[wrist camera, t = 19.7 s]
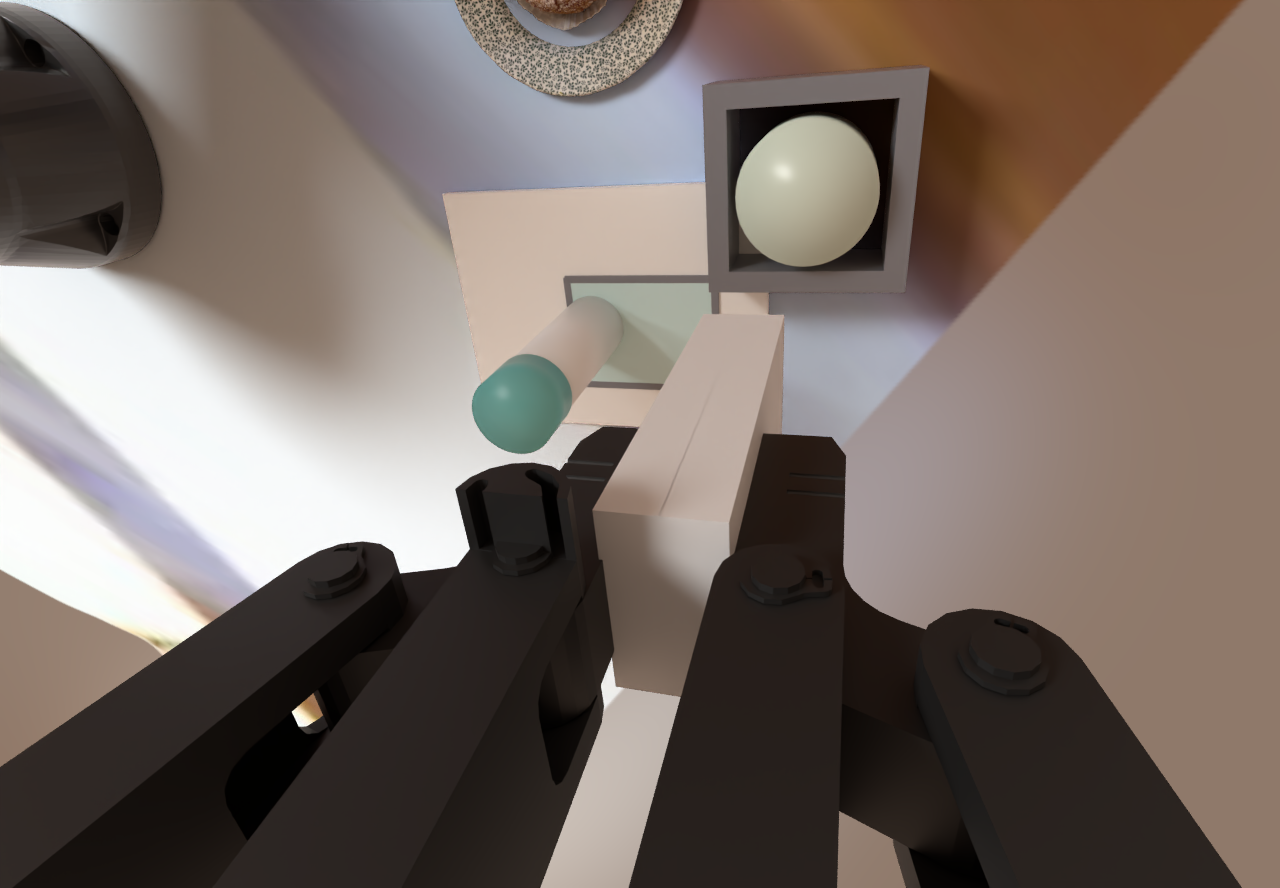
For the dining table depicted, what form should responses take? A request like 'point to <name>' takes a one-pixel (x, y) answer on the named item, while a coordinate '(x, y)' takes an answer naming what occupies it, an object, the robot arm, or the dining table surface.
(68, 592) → the dining table surface
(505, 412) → the marker
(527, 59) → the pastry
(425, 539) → the dining table surface
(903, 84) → the button housing
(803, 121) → the button
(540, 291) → the sheet
